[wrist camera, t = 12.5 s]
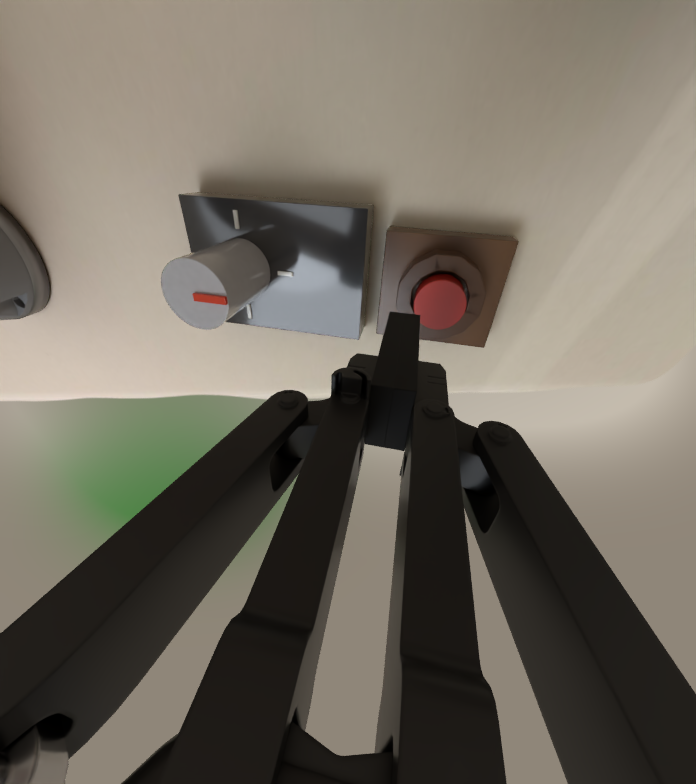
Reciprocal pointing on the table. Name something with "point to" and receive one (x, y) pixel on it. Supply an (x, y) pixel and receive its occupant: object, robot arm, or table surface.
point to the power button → (440, 301)
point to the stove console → (294, 257)
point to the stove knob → (215, 282)
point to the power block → (453, 257)
